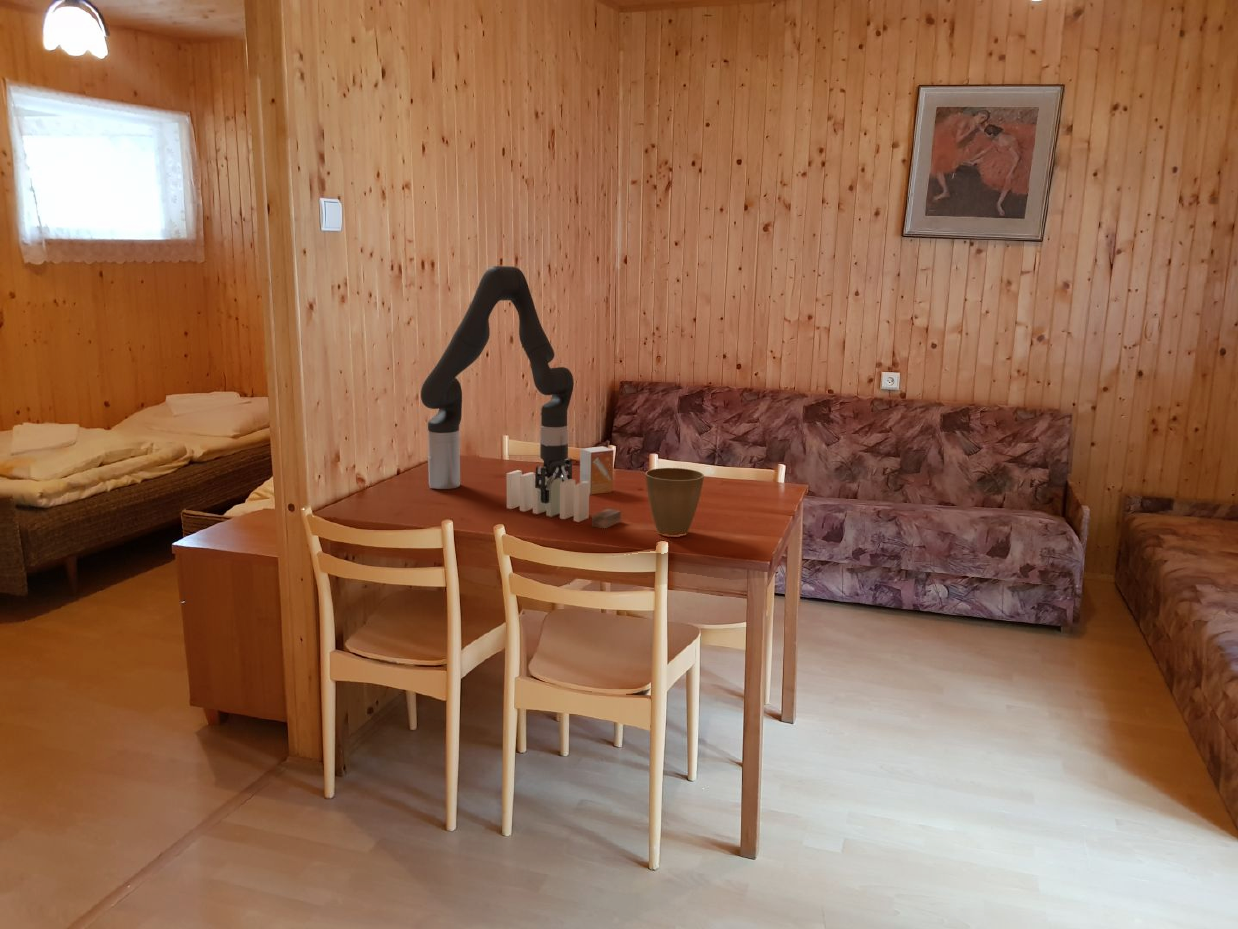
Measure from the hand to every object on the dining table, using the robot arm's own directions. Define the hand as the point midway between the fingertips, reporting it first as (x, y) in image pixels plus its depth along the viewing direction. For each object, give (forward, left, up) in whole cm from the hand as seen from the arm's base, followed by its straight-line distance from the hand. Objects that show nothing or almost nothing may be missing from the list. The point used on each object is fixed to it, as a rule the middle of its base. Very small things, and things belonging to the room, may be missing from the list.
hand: (553, 499), depth 265 cm
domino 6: (+6, -6, -4) cm, 10 cm away
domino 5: (+3, -3, -4) cm, 6 cm away
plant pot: (+27, -24, -4) cm, 36 cm away
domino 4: (0, 0, -4) cm, 4 cm away
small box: (+17, +22, -4) cm, 28 cm away
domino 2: (-6, +6, -4) cm, 10 cm away
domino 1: (-10, +10, -4) cm, 14 cm away
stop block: (+12, -12, -4) cm, 17 cm away
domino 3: (-3, +3, -4) cm, 6 cm away
